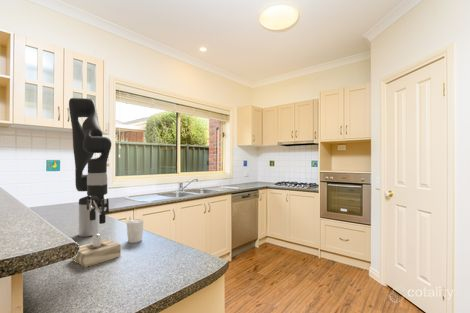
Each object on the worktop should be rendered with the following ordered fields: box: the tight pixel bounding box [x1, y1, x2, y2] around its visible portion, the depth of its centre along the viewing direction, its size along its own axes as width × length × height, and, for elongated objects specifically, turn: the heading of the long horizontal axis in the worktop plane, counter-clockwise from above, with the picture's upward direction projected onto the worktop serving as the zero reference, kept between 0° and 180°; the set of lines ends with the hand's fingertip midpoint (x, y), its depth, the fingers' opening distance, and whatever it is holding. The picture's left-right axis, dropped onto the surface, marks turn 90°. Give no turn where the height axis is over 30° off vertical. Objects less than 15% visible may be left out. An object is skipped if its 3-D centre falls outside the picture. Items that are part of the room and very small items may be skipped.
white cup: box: [126, 218, 144, 244], centre depth 124 cm, size 8×8×10 cm
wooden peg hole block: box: [71, 238, 122, 268], centre depth 102 cm, size 12×14×5 cm
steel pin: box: [92, 232, 102, 248], centre depth 102 cm, size 3×3×10 cm
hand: (97, 221), depth 103 cm, fingers open, 8 cm apart
